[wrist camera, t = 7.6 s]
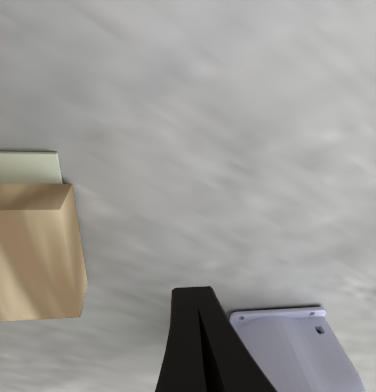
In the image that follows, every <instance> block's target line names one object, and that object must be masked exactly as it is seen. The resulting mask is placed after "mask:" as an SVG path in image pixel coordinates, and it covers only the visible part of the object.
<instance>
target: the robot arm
mask: <svg viewBox="0 0 376 392" xmlns="http://www.w3.org/2000/svg"><path fill="white" fill-rule="evenodd" d="M325 314H326V310H325V308H324V307H309V308H292V309H275V310H259V311H242V312H234V313H232V314H231V316H230V320H229V319H228V317H227V315H226V314H225V312H224V310H223V308H222V306H221V305H220V303H219V301H218V299H217V297H216V295H215V293H214V291H213V289H212V288H211V287H210V286H207V287H186V288H175V289H173V290H172V299H171V319H170V330H169V335H168V341H167V346H166V351H165V355H164V359H163V363H162V367H161V371H160V375H159V379H158V383H157V386H156V390H155V392H366V390H365V387H364V385H363V382H362V380H361V378H360V376H359V374H358V372H357V371H356V369H355V367H354V366H353V364H352V362H351V361H350V359H349V357H348V356H347V354H346V352H345V351H344V349H343V347H342V346H341V344H340V342H339V341H338V339H337V337H336V336H335V334H334V332H333V331H332V329H331V327H330V326H329V324H328V322H327V321H326V319H325V317H324V316H325Z"/></svg>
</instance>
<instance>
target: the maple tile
mask: <svg viewBox="0 0 376 392" xmlns="http://www.w3.org/2000/svg"><path fill="white" fill-rule="evenodd" d="M87 286H88V282H87V276H86V269H85V263H84V256H83V250H82V243H81V237H80V230H79V224H78V217H77V211H76V204H75V198H74V191H73V185H72V184H0V322H2V321H20V320H38V319H55V318H73V317H80V316H81V311H82V307H83V303H84V298H85V294H86V290H87Z"/></svg>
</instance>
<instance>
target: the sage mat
mask: <svg viewBox="0 0 376 392" xmlns="http://www.w3.org/2000/svg"><path fill="white" fill-rule="evenodd" d="M0 184H63V182H62V176H61V171H60V165H59V159H58V153H57V152H5V151H0Z"/></svg>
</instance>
